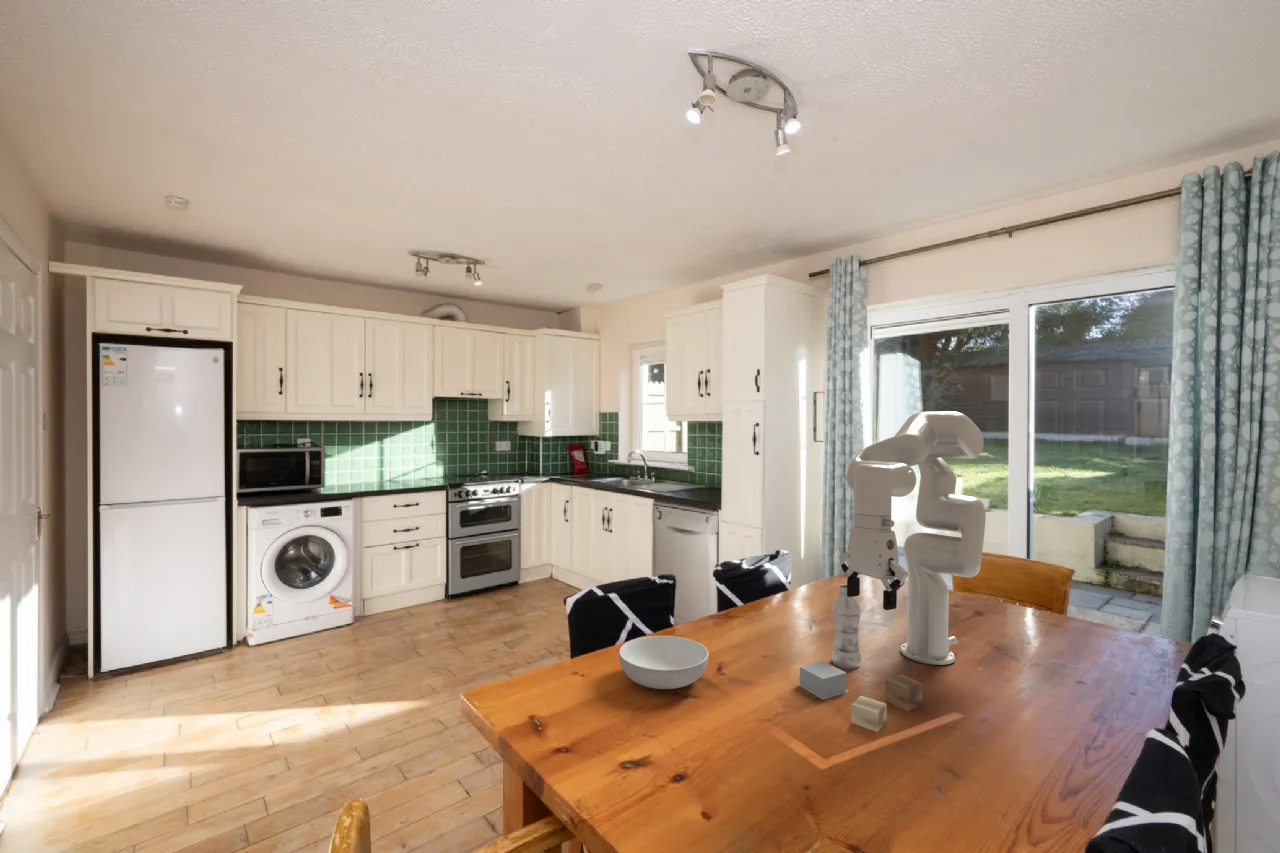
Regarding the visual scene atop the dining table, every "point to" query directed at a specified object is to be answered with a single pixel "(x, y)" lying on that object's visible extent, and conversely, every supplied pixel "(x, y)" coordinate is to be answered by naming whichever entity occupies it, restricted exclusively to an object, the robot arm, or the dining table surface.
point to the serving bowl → (663, 661)
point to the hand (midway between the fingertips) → (870, 602)
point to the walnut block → (904, 692)
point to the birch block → (868, 713)
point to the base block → (823, 679)
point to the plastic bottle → (846, 630)
